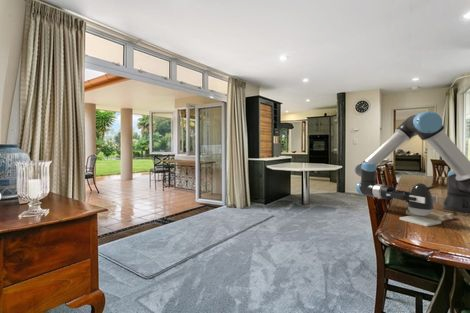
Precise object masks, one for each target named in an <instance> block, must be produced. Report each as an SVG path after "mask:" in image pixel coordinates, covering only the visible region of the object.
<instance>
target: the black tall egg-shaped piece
mask: <svg viewBox="0 0 470 313" xmlns="http://www.w3.org/2000/svg"><path fill="white" fill-rule="evenodd" d="M435 188H436V187H435V185H431V186H427V185H426V184H425V183H423V182H422V183H421V182H417V183H416V184H415V185H413V187H412V188H411V189H410V191H409V192H410V194H409V195H413V196H419V197H425V204H424V203H418V202H413V201H409V200H408V202H406V204H407V205H406V206H407V210H408V209H409V211H410V212H411V213H413V214H415V215H420V216H426V215H429V214H430V213H431V212H432V210H434V201H433V200H432V196H431V195H432V192H431V191H430V190H434V189H435ZM430 215H431V214H430Z"/></svg>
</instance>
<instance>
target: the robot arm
mask: <svg viewBox="0 0 470 313" xmlns="http://www.w3.org/2000/svg"><path fill="white" fill-rule="evenodd" d="M445 129H446V127H445V126H444V125H443V119H442V116H441V115H440V114H439V113H437V112H434V111H422V112H419V113H416V114H413V115H410V116H409V117H407V118H406V119H405V120H404V121H403V122H402V123H401V124H400V125H399V126H397V127H396V129H394V133H392V135H390V136H389V137H388V138H386V140H385V141H384V142H383V143H382V144H380V145H379V146H378V147H377V148H376V149H375V150H374V151H373V152H372V153H371V154H369V155H368V156H367V158H365V159H364V160H363V161H361V163H360V164H357V165H356V166H355V167H354V172H355V174H356V175H357V176H359V177H360V181H359V182H357V184H356V186H355V191H356V192H357V194H359V195H363V196H364V197H365V196H367V197H373V198H377V199H378V200H380V199H384V200H388V201H391V200H393V199H395V200H399V201H405V203H407V202H408V200H409V201H413V202H418V203H424V204H425V197H419V196H413V195H409V194H410V192H411V191H405V190H400V189H395V187H394V186H393V185H386V184H385V185H384V184H381V183H376V181H377V180H376V179H377V178H376V177H377V167H378V166H379V165H380V164H382V162H383V161H385V159H387V158H388V157H389V156H390V155H392V153H393V152H395V151H396V150H397V149H398V148H399V147H401V146H402V145H403V143H405V142H406V141H410V140H411V139H412V138H413V137H415V136H418V137H419V138H420V140H422V141H425V142H428V144H429V145H430V146H431V147H432V149H434V151H435V152H436V153H437V154H438V155H439V156H440V158H441V159H442V160H443V161H444V162H445V163H446V165H447V166H448V167H449V168H450V169H451V170H450V171H448V173H447V176H446V177H447V181H446V182H447V184H446V185H447V186H446V188H447V190H446V197H445V199H444V201H443V203H442V208H443V209H445V210H448V211H453V212H458V213H470V160H469V158H468V157H467V156H466V155H465V154H464V153H463V152H462V151H461V150H460V148H459V147H458V146H457V145H456V144H455V143H454V141H453V140H452V138H450V137H449V136H448V135H447V133H446V132H445ZM431 196H432V200H433V203H437V202H438V195H432V194H431Z"/></svg>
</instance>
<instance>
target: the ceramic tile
mask: <svg viewBox="0 0 470 313" xmlns="http://www.w3.org/2000/svg"><path fill="white" fill-rule="evenodd" d="M399 220H401V221H403V222H408V223H410V224H411V223H412V224H416V225H419V226H424V227H431V226H435V225H440V224H442V221H438V220H433V219H429V218H424V217H420V216H416V215H411V216H410V215H406V216H400V217H399Z"/></svg>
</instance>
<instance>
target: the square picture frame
mask: <svg viewBox="0 0 470 313" xmlns="http://www.w3.org/2000/svg"><path fill="white" fill-rule="evenodd" d="M406 214H407V215H406ZM405 215H406V216H411V215H415V214H413V213H411V212H410V211H409V209H408V208H407V209H406V210H405ZM416 216H420V215H416ZM420 217H424V218H429V219H433V220H438V221H441V222H444V221H448V220H453V219H454V213H452V212H447V211H442V210H437V209H432V212H431V213H430V214H429V215H426V216H420Z"/></svg>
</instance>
